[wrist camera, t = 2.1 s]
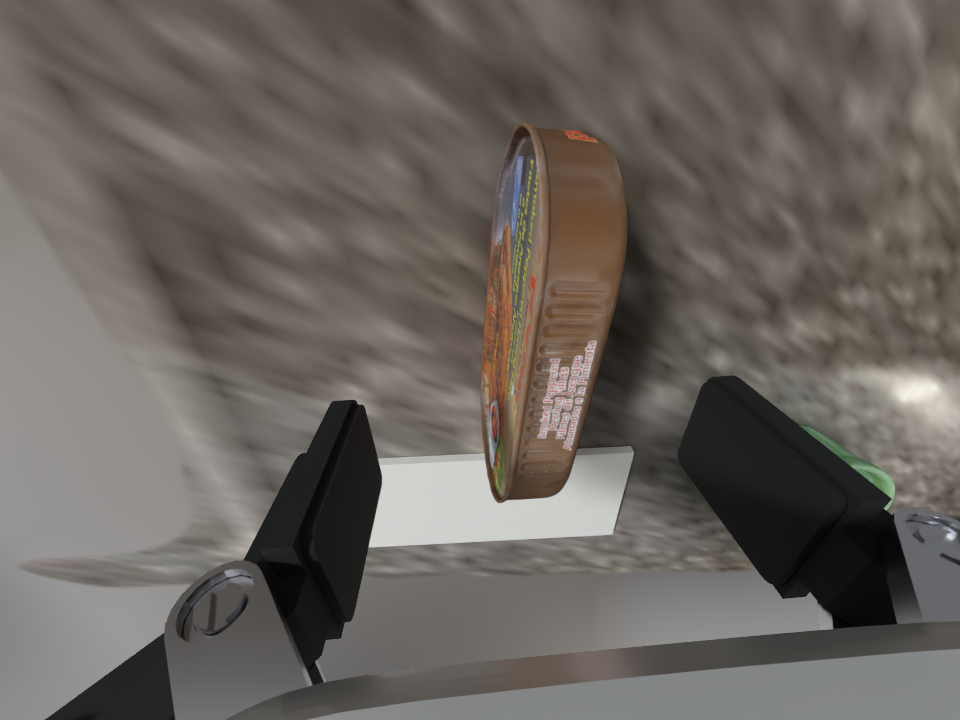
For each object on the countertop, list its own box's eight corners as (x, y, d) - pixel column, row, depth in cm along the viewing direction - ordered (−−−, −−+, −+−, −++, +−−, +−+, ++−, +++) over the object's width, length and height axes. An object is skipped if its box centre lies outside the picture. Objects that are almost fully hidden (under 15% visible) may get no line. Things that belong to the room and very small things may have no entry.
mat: (630, 446, 24) (634, 452, 23) (609, 527, 28) (612, 534, 28) (333, 460, 23) (330, 467, 23) (361, 540, 28) (359, 547, 27)
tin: (499, 129, 14) (534, 104, 7) (574, 135, 14) (685, 117, 7) (477, 415, 22) (483, 546, 15) (526, 417, 22) (556, 546, 15)
